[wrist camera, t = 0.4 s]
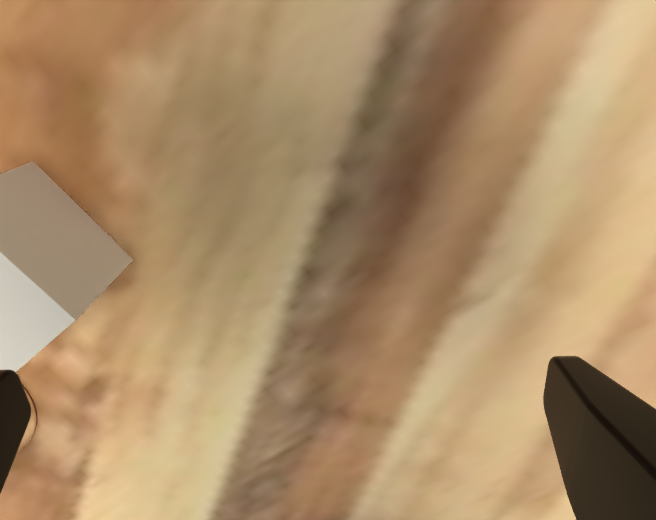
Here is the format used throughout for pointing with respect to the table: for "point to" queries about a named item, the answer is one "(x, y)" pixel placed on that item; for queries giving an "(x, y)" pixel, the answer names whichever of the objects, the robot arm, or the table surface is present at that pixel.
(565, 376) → the robot arm
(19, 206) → the letter block
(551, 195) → the table surface
